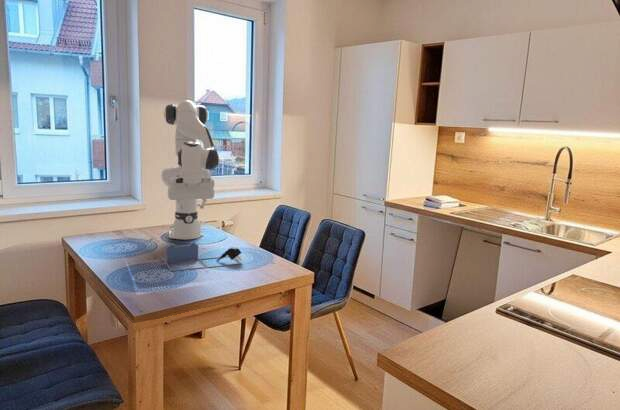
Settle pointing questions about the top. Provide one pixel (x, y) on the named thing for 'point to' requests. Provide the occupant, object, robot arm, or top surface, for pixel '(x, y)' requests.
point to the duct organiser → (187, 255)
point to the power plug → (231, 254)
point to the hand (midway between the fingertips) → (191, 208)
